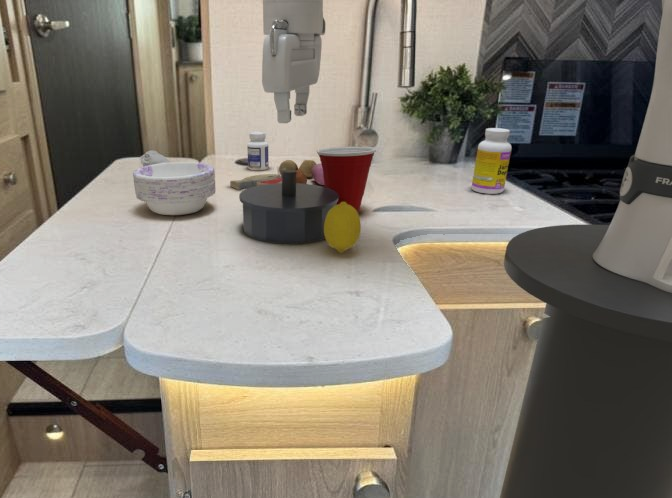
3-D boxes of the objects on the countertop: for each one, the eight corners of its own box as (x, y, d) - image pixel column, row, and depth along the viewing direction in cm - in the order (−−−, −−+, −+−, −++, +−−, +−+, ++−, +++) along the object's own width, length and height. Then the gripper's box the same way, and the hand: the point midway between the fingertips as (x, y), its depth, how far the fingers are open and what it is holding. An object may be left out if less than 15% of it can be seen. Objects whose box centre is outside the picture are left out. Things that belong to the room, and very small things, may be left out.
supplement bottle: (495, 196, 114) (507, 133, 108) (465, 191, 118) (475, 129, 112) (508, 190, 118) (520, 129, 113) (479, 185, 122) (488, 126, 117)
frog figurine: (146, 178, 130) (143, 148, 127) (175, 178, 129) (173, 148, 126) (138, 184, 124) (135, 153, 121) (168, 184, 124) (166, 153, 121)
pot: (342, 219, 99) (343, 190, 97) (323, 248, 86) (324, 214, 83) (260, 212, 104) (260, 184, 101) (230, 238, 90) (228, 206, 88)
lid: (346, 193, 98) (348, 164, 95) (326, 219, 83) (327, 186, 81) (258, 186, 102) (257, 158, 100) (224, 210, 88) (223, 178, 85)
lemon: (316, 249, 85) (318, 199, 82) (348, 244, 87) (351, 195, 84) (332, 261, 81) (335, 208, 77) (365, 256, 83) (369, 204, 79)
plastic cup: (345, 201, 111) (348, 140, 106) (383, 213, 103) (389, 148, 98) (303, 209, 105) (304, 146, 100) (339, 223, 97) (343, 155, 92)
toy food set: (304, 169, 138) (305, 153, 136) (356, 180, 127) (357, 162, 126) (227, 187, 122) (226, 169, 120) (279, 200, 111) (279, 181, 109)
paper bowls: (132, 203, 110) (128, 163, 106) (206, 196, 114) (204, 158, 111) (142, 224, 97) (137, 180, 93) (225, 216, 101) (223, 173, 98)
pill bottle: (261, 165, 142) (260, 130, 139) (272, 169, 139) (272, 133, 135) (243, 168, 140) (243, 132, 136) (255, 171, 136) (254, 135, 132)
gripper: (294, 18, 71) (294, 128, 77) (328, 23, 89) (325, 112, 95) (249, 20, 73) (252, 127, 79) (290, 24, 90) (290, 111, 96)
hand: (292, 119), depth 87 cm, fingers open, 8 cm apart
